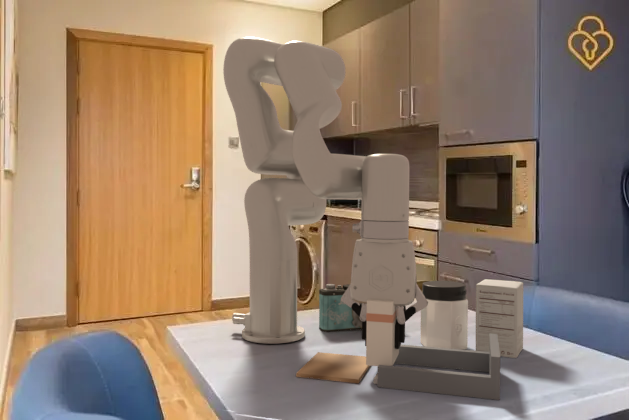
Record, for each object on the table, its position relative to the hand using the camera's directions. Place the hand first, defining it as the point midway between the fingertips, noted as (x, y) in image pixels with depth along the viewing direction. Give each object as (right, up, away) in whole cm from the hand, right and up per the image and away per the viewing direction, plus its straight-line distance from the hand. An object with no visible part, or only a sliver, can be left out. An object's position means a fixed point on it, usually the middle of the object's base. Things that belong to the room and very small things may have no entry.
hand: (383, 344), depth 87 cm
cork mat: (-7, -4, +2) cm, 9 cm away
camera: (-1, -4, +27) cm, 27 cm away
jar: (+13, -4, +16) cm, 21 cm away
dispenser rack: (+8, -5, -2) cm, 10 cm away
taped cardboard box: (0, -2, 0) cm, 2 cm away
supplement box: (+23, -5, +13) cm, 27 cm away
